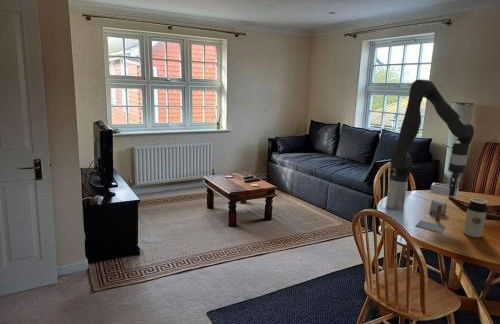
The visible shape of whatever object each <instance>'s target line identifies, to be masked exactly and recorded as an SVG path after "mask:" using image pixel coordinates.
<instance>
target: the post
mask: <svg viewBox="0 0 500 324" xmlns="http://www.w3.org/2000/svg"><path fill="white" fill-rule="evenodd" d="M441 209H442V205H438V208H437V214H435V221H436V222H440V220H441V216H442V215H441Z"/></svg>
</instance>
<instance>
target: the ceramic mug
mask: <svg viewBox="0 0 500 324" xmlns="http://www.w3.org/2000/svg"><path fill="white" fill-rule="evenodd" d="M438 205H442V209H441V215H440V216H444V215H446V212H447V207H448V204H447V202H444V201H439V200H435V199H431V202H430V207H429V213H430V214H435V215H436V214H437V208H438Z"/></svg>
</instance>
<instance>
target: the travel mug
mask: <svg viewBox="0 0 500 324" xmlns="http://www.w3.org/2000/svg"><path fill="white" fill-rule="evenodd" d="M488 203H489V202H488V201H487V200H486V199H483V198H477V197H472V198H469V204H468V205H467V210H466V217H465V222H464V228H463V234H465V235H466V236H468V237H472V238H481V237H482V236H483V232H484V227H485V222H486V217H487V212H488V207H487V205H488Z"/></svg>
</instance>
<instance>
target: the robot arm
mask: <svg viewBox="0 0 500 324" xmlns="http://www.w3.org/2000/svg"><path fill="white" fill-rule="evenodd" d="M424 98H425V99H426V100H427V101H429V102H430V103H431V104H432V106H433V107H434V109H435V112H436V114H437V115H438V116H439V118H440V119H441V120H442V121H443V122H444V124H446V125H447V126H446V127H448V129H449V131H450V132H451V134H452V135H453V136H454V137H456V138H457V140H456V141H455V142H453V144H452V148H451V154H450V156H449V157H450V158H449V162H448V168H447V169H448V172H451V173H452V174H451V175H450V179H449V180H450V181H449V185H450V186H449V188H450V192H449V196H454V193H455V189H456V187H459V183H460V179H461V174H465V173H466V167H467V162H468V155H469V147H470V145H471V142H472V140H473V137H474V133H475V129H474V126H473V125H472V124H471V123H467V122H465V123H463V122H462V121H461V120H460V119H461V117H460V114H459V113H458V112H457V111H456V110H455V109H454V108H453V107H452V105H450V104H449V103H448V102H447V100H446V99H445V98H444V97H443V96H442V94H441V93H440V92H439V90H438V88H437V87H436V86H435V84H434V83H433V82H432V81H431V80H429V79H421V78H419V79H415V80H414V81H413V82H412V83H411V85H410V89H409V96H408V100H407V105H406V109H405V112H404V116H403V119H402V123H401V127H400V131H399V134H398V139H397V142H396V145H395V148H394V150H393V152H392V155H391V158H390V165H391V167H392V168H393V169H394V171H393V172H392V174H391V175H390V182H389V189H388V191H387V196H386V205H385V208H389V209H390V210H394V211H402V210H404V209H405V202H406V196H407V195H406V194H407V189H408V188H407V187H408V182H409V181H408V180H409V177H410V175H411V171H412V165H413V160H412V159H413V157H412V156H411V155H410V154H409V153H408V152H409V149H410V147H411V145H412V143H413V142H414V141H415V139H416V137H417V136H418V133H419V129H420V128H421V125H422V114H421V105H422V102H423V99H424Z"/></svg>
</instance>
